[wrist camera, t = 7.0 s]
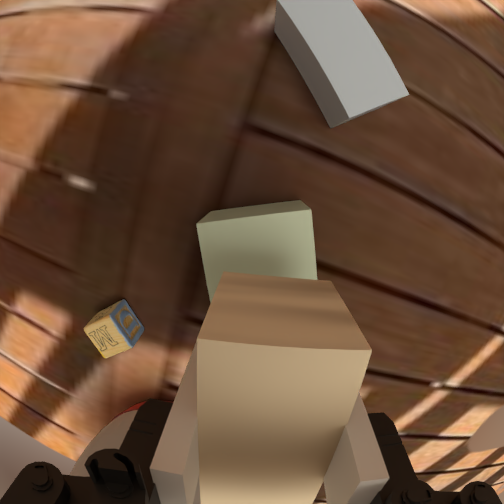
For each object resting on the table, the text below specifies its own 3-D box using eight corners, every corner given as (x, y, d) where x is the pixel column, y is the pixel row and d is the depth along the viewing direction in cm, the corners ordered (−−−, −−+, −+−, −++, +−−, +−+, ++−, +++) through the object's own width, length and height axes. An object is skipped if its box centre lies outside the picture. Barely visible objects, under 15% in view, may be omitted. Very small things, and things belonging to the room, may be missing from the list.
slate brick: (274, 32, 18) (276, -2, 13) (323, 14, 17) (337, -19, 12) (330, 129, 19) (349, 118, 15) (378, 108, 19) (409, 94, 14)
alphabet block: (146, 329, 24) (132, 349, 21) (119, 341, 24) (104, 360, 21) (125, 297, 23) (109, 314, 20) (98, 311, 23) (81, 328, 21)
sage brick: (211, 210, 21) (196, 223, 16) (300, 199, 21) (311, 209, 16) (233, 340, 24) (226, 379, 19) (311, 332, 23) (321, 370, 19)
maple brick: (223, 271, 12) (197, 338, 7) (330, 281, 12) (372, 350, 7) (215, 426, 14) (201, 508, 9) (297, 432, 13) (306, 515, 9)
